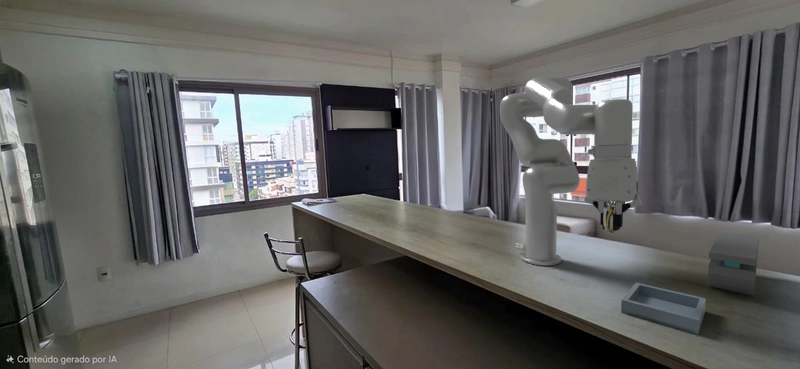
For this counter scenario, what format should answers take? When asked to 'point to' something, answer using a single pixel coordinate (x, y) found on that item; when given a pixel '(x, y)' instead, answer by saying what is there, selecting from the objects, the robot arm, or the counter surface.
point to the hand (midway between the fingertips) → (611, 228)
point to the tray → (665, 307)
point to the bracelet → (606, 218)
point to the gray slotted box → (734, 263)
